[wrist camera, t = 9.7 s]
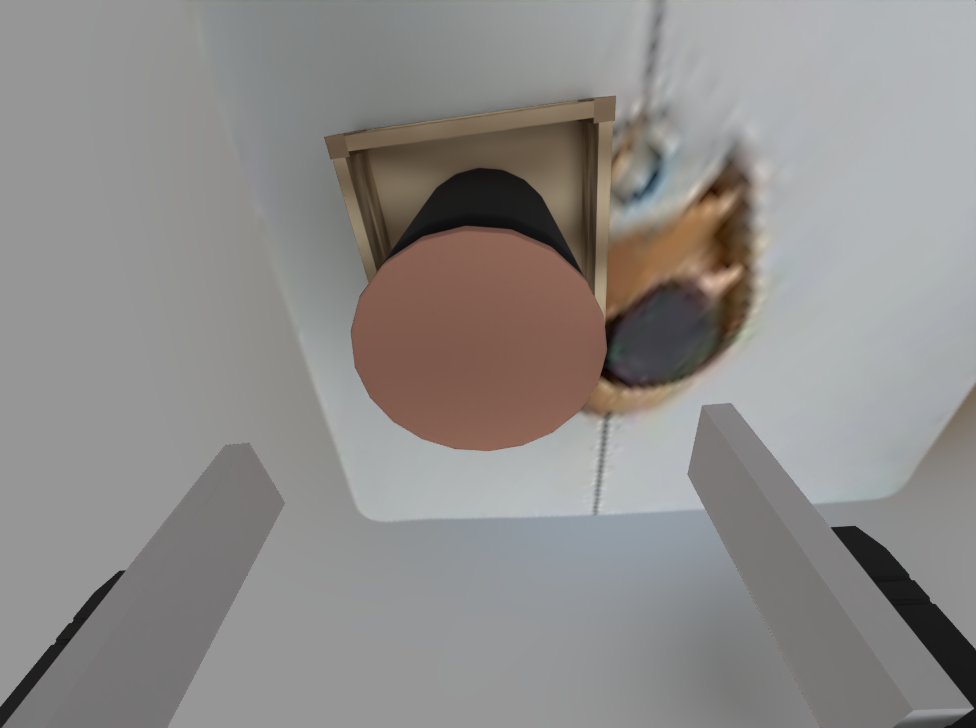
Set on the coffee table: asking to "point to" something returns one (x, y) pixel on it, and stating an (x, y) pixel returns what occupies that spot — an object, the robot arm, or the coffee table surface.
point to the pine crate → (493, 145)
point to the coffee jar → (480, 319)
